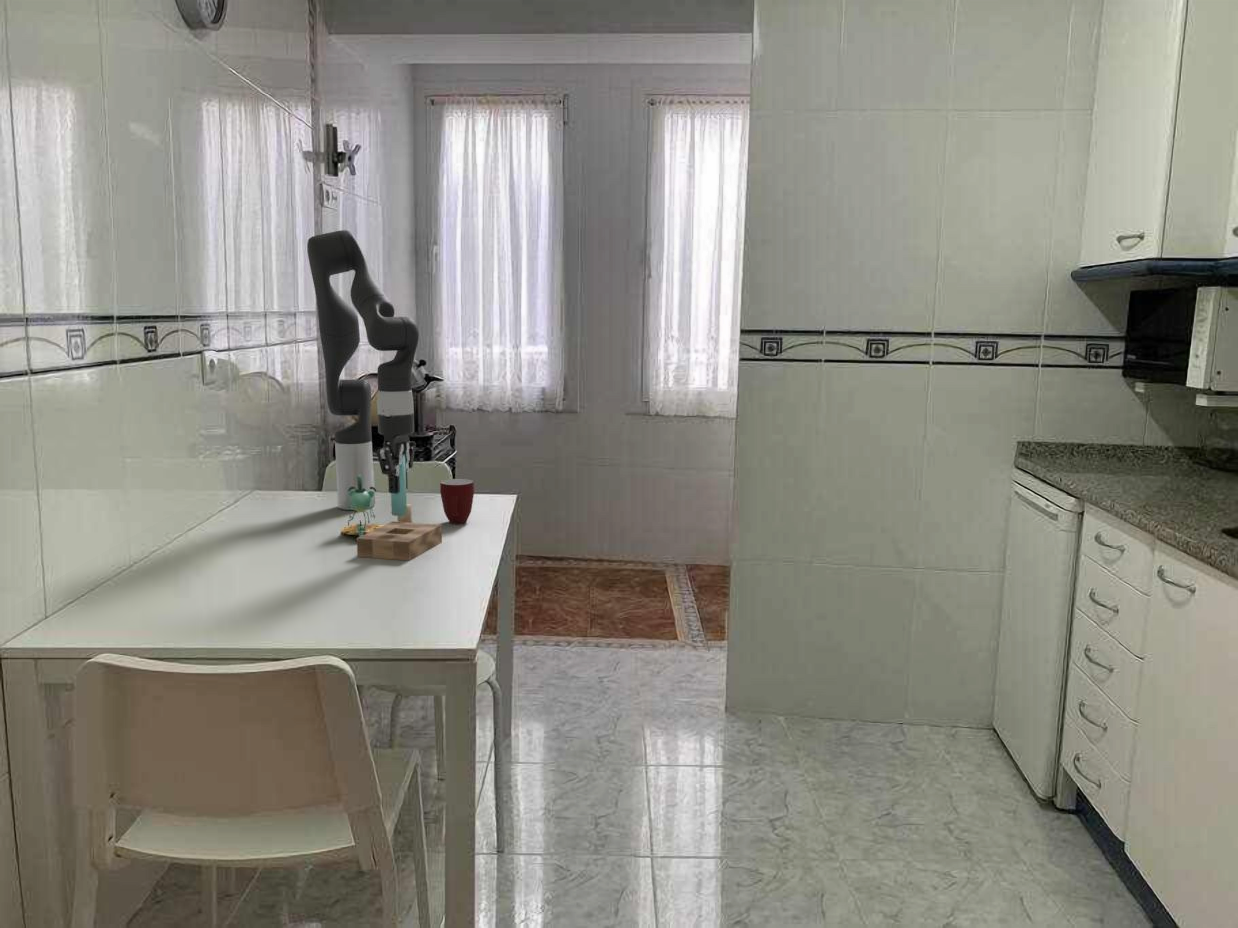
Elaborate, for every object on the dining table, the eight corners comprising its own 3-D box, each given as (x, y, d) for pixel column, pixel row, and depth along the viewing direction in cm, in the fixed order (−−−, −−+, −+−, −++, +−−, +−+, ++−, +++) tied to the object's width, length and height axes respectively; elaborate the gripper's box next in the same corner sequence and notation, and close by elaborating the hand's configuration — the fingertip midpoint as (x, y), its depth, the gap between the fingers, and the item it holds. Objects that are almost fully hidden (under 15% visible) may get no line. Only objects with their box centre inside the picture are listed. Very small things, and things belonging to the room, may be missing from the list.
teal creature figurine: (327, 544, 215) (326, 478, 214) (352, 533, 233) (350, 472, 232) (370, 544, 215) (369, 478, 214) (391, 533, 233) (390, 472, 232)
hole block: (393, 538, 220) (392, 521, 219) (441, 542, 217) (441, 524, 216) (357, 556, 205) (356, 538, 204) (409, 560, 202) (408, 542, 201)
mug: (474, 527, 231) (473, 486, 229) (440, 528, 229) (439, 487, 228) (474, 517, 241) (473, 478, 239) (441, 518, 240) (440, 479, 238)
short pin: (402, 532, 225) (401, 503, 224) (414, 533, 225) (413, 504, 223) (395, 536, 222) (394, 506, 221) (408, 536, 222) (407, 507, 220)
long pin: (396, 512, 211) (394, 453, 209) (409, 513, 211) (407, 454, 208) (389, 515, 208) (387, 455, 206) (402, 516, 208) (400, 456, 205)
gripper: (395, 407, 213) (397, 484, 216) (363, 414, 200) (366, 496, 203) (426, 408, 212) (428, 486, 214) (396, 416, 198) (399, 498, 201)
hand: (398, 490), depth 209 cm, fingers closed on long pin, 3 cm apart
